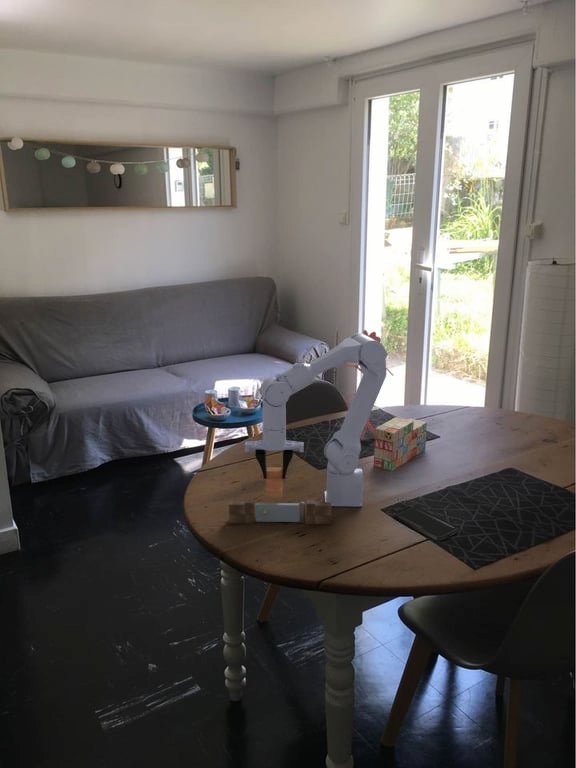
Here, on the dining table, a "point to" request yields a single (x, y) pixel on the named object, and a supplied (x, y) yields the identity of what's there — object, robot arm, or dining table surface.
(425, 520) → the phone
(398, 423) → the stack of blocks
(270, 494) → the orange block
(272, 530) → the dining table surface
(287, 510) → the door
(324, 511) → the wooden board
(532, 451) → the dining table surface
